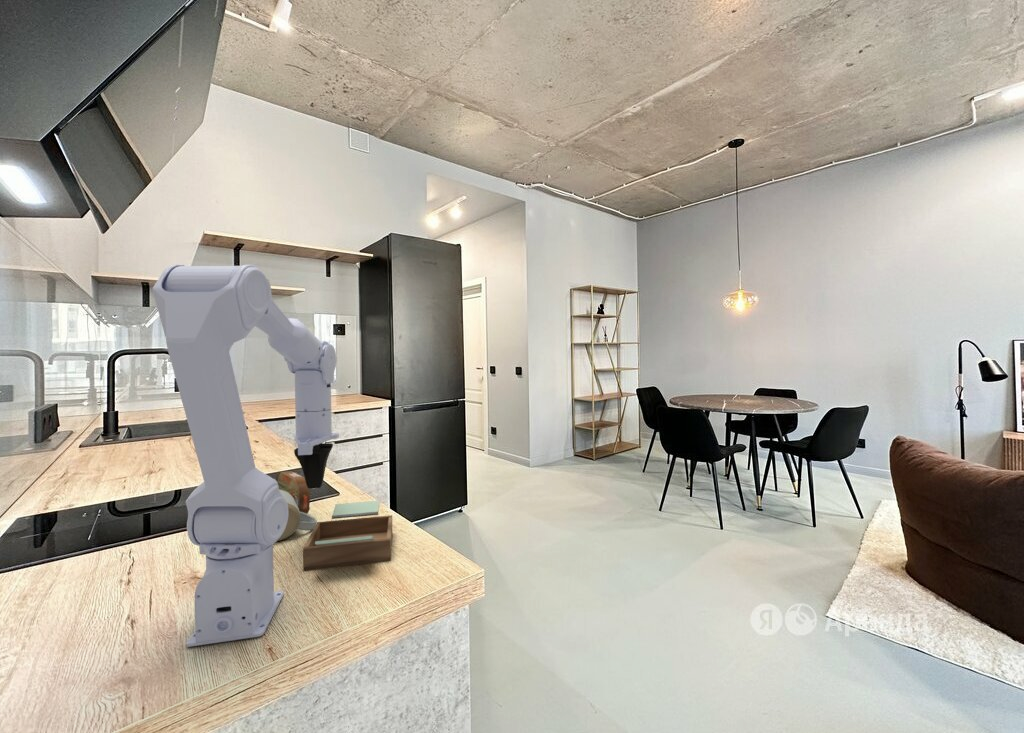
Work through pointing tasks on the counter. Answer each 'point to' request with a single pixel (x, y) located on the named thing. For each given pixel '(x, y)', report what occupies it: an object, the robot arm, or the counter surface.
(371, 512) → the flap far
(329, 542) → the flap near
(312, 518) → the ceramic mug
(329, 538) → the crate
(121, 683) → the counter surface
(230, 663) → the counter surface
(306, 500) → the tin
